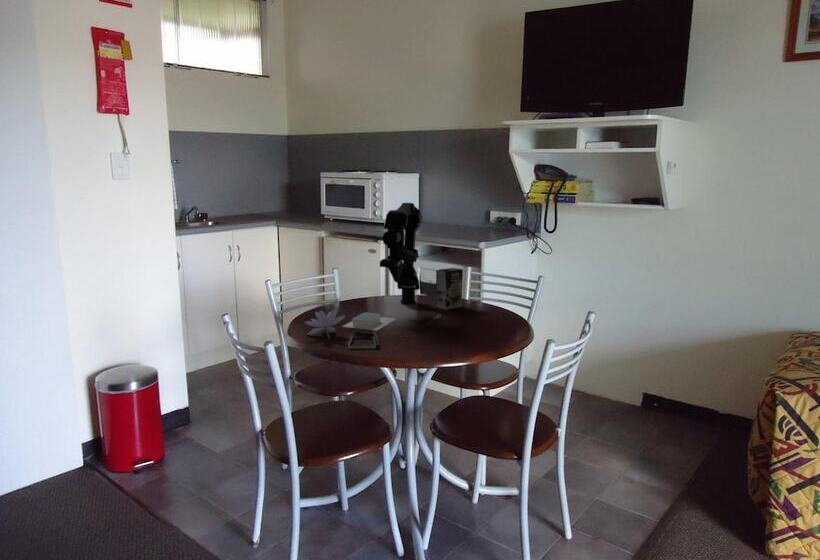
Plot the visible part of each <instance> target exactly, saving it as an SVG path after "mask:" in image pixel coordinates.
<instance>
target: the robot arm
mask: <svg viewBox="0 0 820 560" xmlns="http://www.w3.org/2000/svg"><path fill="white" fill-rule="evenodd" d="M385 215H386V216H385V220H384V221H385V222H384V226H383V229H384V230H387V231H385V232H384V233H383V235H382V242H383V243H384V245H385V246H387V249H388V251H389V255H387V258H386V257H385V258H382V259H381V260H379V268H387V269H388V270H389V272H390V274H391V277H392V279H393V281H394V283H397V284H396V285H397V289H398V290H401V299H399V301H400V303H401V305H415V304H417V300H416V291H417V290H420V285H421V284H420V280H419V277H418V275H417V274H418V272H417V270H416V268H415V267H414V264H415V263H416V262H417V259H418V258H419V257H420V254H419V250H418V249H416V237H417V235H416V233H417V232H418V230H420V227H421V223H422V220H423V218H422V216H423V215H422V213H421V210H420V209H419V208H418V207H416V206H415V204H414V203H413V202H403V203H401V205H400V206H399V207H398V208H397V209H393V210H391V209H390V210H388V212H387V213H386V214H385Z"/></svg>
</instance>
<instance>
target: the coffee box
mask: <svg viewBox="0 0 820 560" xmlns="http://www.w3.org/2000/svg"><path fill="white" fill-rule="evenodd" d="M463 270H464V269H462V268H454V267H450V268H448V267H447V268H442V269H440V268H439V269H437V281H436V282H437V283H436V284H437V285H436V289H437V290H436V308H439V309H442V310H446V311H447V310H452V308H453V309H457V308H462V307H463V279H464V278H463V276H464V275H463V272H464V271H463Z"/></svg>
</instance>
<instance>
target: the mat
mask: <svg viewBox="0 0 820 560" xmlns="http://www.w3.org/2000/svg"><path fill="white" fill-rule="evenodd" d="M395 320H396V318H392V317H384V316H380V322H379V323H377V324H376V325H374V326H372V327H370V328H361V327H353V320H352V321H349V322H348V323H346V324H343V325H342V326H341V328H342V327H343V328H349V329H350V328H352V329H358V330H368V331H376V332H377V331H378V330H380V329H382V328H384V327H385V326H387V325H388V324H390V323H392V322H394V321H395Z"/></svg>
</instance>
